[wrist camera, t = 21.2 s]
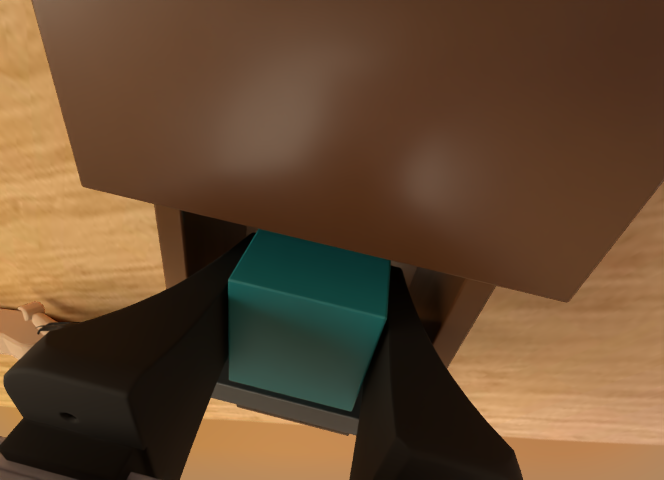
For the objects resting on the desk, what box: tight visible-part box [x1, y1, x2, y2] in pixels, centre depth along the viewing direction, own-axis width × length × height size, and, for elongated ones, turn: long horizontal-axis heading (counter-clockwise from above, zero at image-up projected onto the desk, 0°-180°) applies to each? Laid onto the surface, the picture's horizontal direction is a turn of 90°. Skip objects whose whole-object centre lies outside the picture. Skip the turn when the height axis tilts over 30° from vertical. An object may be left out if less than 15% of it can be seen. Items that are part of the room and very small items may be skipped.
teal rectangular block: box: [228, 229, 391, 411], centre depth 12 cm, size 4×4×5 cm
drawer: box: [154, 204, 496, 436], centre depth 15 cm, size 18×10×6 cm, turn 171°
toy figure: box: [0, 301, 80, 360], centre depth 23 cm, size 7×6×15 cm
